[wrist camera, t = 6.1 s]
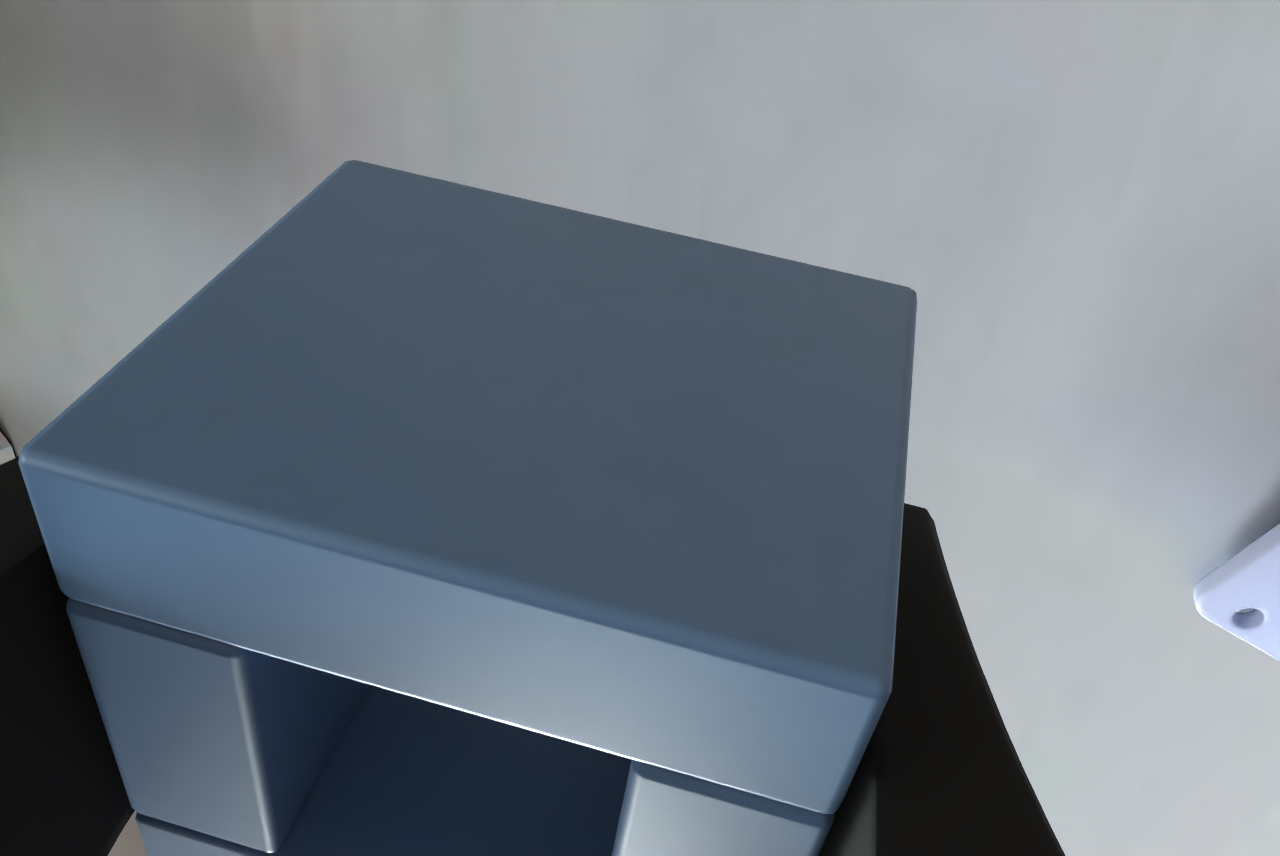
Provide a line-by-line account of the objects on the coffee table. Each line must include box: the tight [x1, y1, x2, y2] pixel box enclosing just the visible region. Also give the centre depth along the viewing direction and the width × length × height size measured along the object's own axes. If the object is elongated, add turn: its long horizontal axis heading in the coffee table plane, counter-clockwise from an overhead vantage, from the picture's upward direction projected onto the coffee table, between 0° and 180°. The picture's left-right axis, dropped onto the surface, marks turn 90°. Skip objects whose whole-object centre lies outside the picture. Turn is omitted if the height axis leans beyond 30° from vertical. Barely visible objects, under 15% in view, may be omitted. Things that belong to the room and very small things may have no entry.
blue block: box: [18, 160, 917, 856], centre depth 9 cm, size 5×5×4 cm
